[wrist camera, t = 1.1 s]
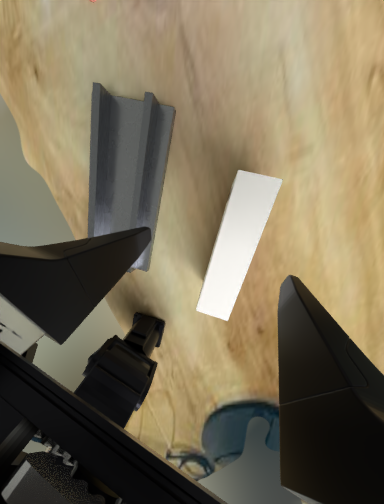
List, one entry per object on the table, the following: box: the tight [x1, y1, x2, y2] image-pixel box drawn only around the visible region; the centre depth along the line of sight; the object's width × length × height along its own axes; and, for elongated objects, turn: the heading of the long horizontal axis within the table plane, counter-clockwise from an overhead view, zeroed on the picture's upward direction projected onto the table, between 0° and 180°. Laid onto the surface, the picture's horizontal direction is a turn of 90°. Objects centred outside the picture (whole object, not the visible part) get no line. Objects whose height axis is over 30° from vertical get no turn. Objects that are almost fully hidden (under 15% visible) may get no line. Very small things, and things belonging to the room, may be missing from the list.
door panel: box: [196, 170, 283, 321], centre depth 20 cm, size 16×4×8 cm, turn 166°
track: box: [88, 82, 176, 273], centre depth 23 cm, size 24×12×3 cm, turn 166°
